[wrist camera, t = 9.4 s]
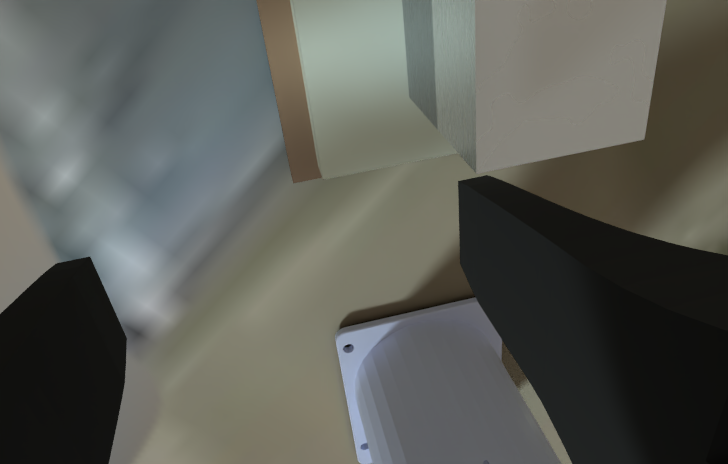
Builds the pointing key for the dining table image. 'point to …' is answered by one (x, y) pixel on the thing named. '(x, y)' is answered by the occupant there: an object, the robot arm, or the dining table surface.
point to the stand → (344, 87)
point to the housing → (532, 74)
